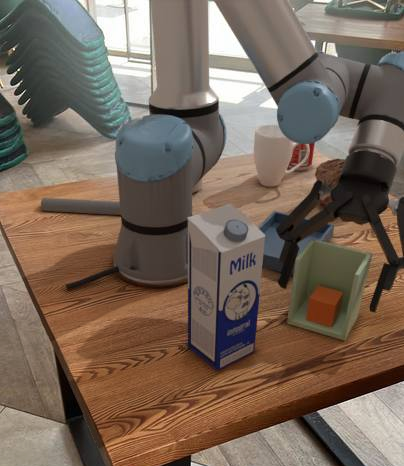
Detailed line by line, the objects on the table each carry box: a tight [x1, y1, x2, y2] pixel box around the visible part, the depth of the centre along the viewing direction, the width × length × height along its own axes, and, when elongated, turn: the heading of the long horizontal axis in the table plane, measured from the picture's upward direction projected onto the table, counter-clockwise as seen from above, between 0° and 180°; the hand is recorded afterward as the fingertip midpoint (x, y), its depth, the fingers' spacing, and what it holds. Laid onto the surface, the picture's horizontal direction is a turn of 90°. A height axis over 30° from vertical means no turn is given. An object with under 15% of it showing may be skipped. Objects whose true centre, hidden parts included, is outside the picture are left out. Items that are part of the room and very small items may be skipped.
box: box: [286, 239, 373, 341], centre depth 84 cm, size 7×9×11 cm
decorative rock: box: [314, 157, 346, 207], centre depth 117 cm, size 13×11×10 cm
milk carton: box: [187, 203, 266, 372], centre depth 75 cm, size 7×7×20 cm
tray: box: [256, 210, 335, 276], centre depth 104 cm, size 17×12×2 cm
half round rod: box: [40, 197, 121, 216], centre depth 116 cm, size 4×20×2 cm, turn 85°
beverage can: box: [287, 142, 316, 172], centre depth 133 cm, size 6×6×12 cm
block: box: [306, 285, 344, 327], centre depth 85 cm, size 4×4×4 cm
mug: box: [253, 124, 310, 188], centre depth 125 cm, size 12×8×11 cm
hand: (325, 297), depth 83 cm, fingers open, 13 cm apart
